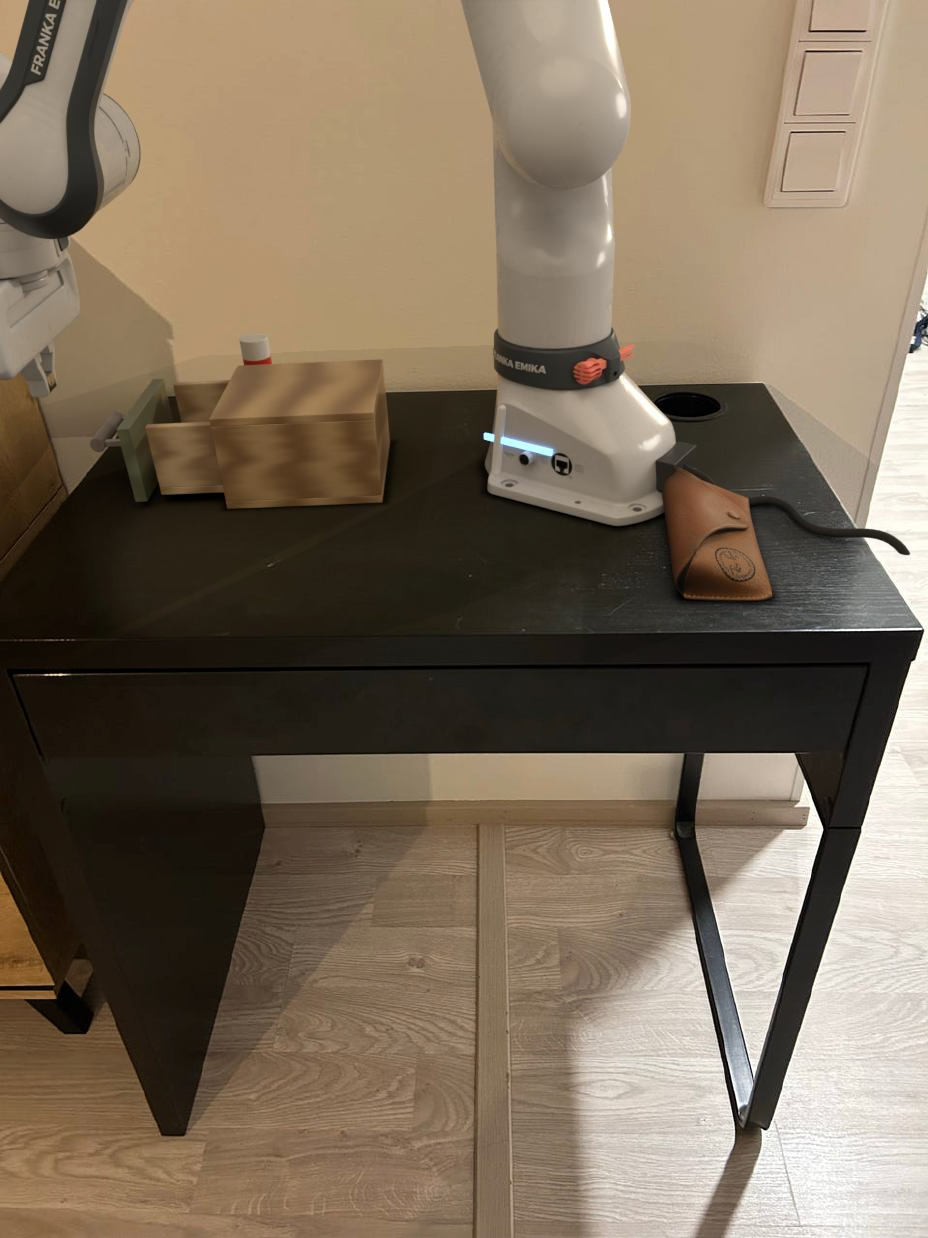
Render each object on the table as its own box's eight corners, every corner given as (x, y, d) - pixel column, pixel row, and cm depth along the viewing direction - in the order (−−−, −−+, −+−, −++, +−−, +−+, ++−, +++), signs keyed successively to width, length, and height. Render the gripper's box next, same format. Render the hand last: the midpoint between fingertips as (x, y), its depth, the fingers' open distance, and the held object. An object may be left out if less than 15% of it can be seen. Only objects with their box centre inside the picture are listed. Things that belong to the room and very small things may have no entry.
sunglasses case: (780, 597, 78) (747, 535, 75) (700, 631, 80) (665, 572, 77) (747, 495, 92) (719, 439, 89) (680, 526, 95) (650, 473, 92)
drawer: (92, 503, 96) (71, 431, 91) (129, 447, 107) (112, 380, 102) (279, 496, 96) (267, 423, 91) (297, 440, 107) (287, 373, 102)
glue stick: (286, 419, 114) (273, 336, 109) (264, 427, 112) (250, 344, 107) (270, 412, 116) (256, 331, 110) (248, 421, 114) (233, 338, 109)
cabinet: (227, 509, 96) (208, 418, 90) (252, 447, 108) (237, 365, 102) (382, 502, 95) (373, 412, 90) (390, 442, 107) (382, 358, 102)
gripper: (-7, 278, 80) (39, 432, 88) (73, 223, 97) (106, 356, 104) (-82, 280, 80) (-29, 434, 88) (11, 225, 97) (49, 358, 104)
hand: (45, 391), depth 96 cm, fingers closed
